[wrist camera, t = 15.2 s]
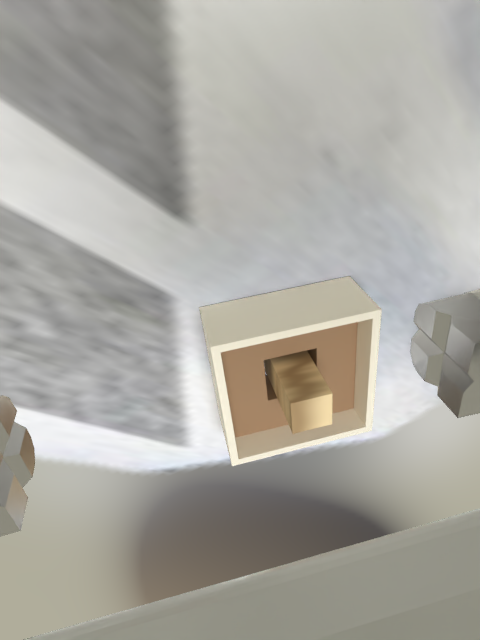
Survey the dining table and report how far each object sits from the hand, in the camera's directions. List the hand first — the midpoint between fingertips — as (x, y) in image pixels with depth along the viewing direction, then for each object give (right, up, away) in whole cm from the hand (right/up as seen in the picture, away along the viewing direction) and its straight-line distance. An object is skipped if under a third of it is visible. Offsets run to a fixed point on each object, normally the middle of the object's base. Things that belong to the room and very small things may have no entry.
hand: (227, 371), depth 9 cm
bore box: (+5, -3, +41) cm, 41 cm away
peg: (+5, -3, +41) cm, 41 cm away
